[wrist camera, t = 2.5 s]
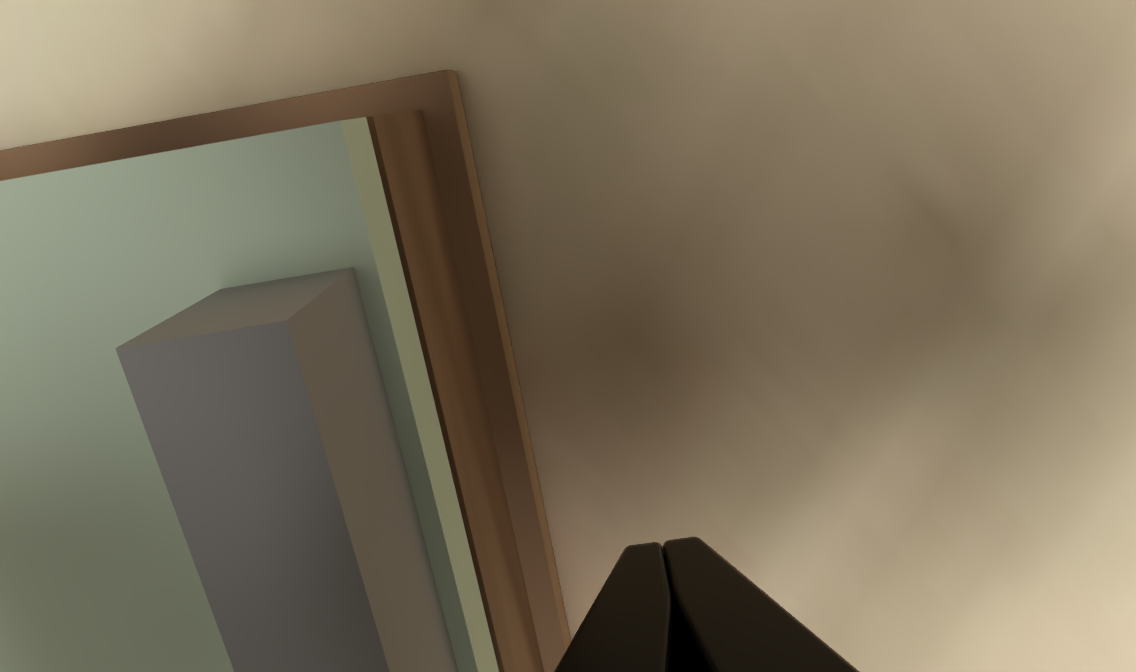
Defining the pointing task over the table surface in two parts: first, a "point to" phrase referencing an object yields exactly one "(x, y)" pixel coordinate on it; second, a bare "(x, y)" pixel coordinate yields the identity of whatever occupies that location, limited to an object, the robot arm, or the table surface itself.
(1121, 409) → the table surface
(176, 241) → the slide cover
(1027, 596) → the table surface
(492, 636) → the wooden box
